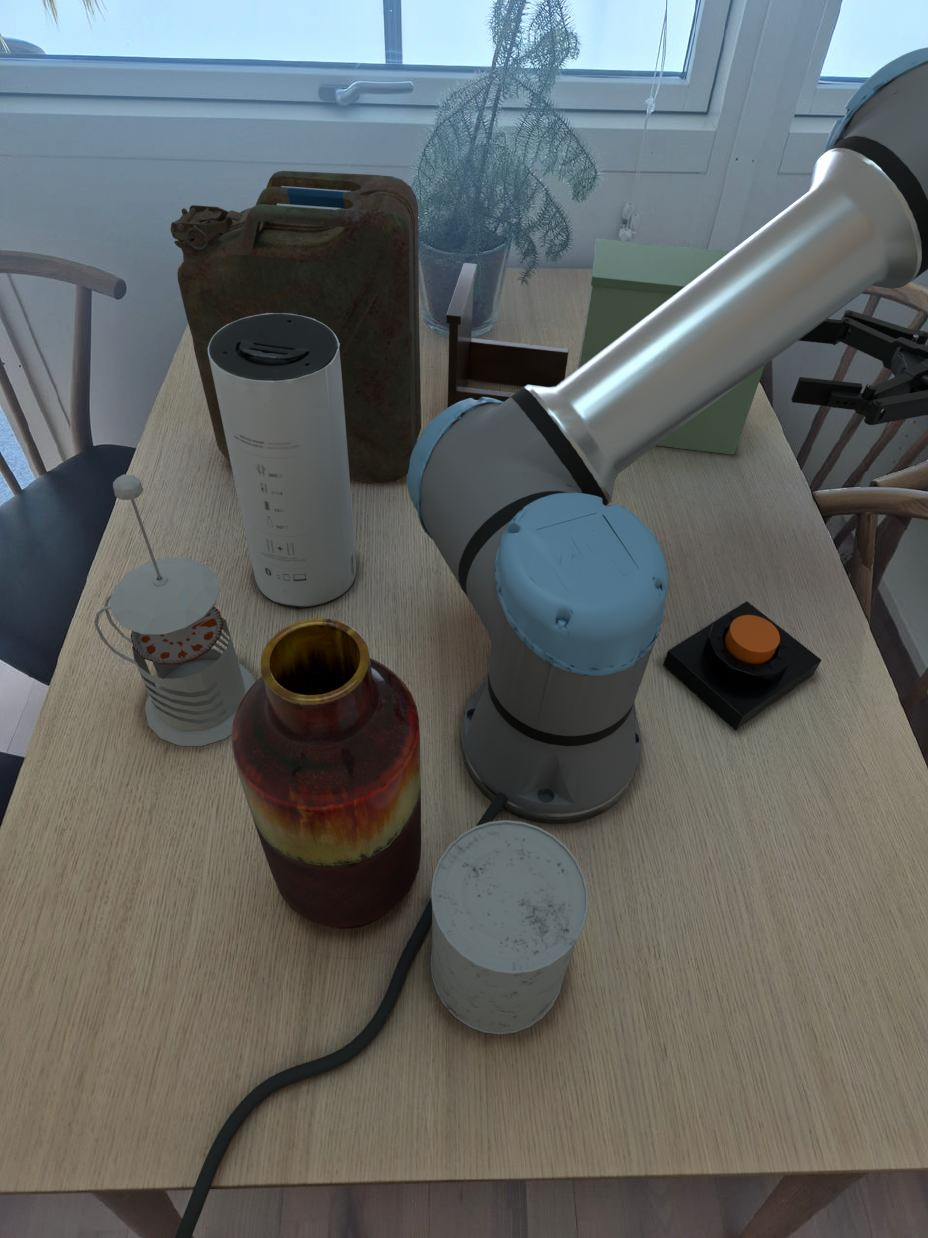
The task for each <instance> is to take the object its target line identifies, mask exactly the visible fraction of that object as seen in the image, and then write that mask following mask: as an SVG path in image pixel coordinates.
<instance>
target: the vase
mask: <svg viewBox="0 0 928 1238" xmlns="http://www.w3.org/2000/svg"><path fill="white" fill-rule="evenodd" d="M259 665H260V677H259V678H258V679H257V680H255V683H254V684H253V685H252V686H251V687H250V689H249V690H248V691H247V692H246V694H245V695H244V697H243V699H242V701H241V702H240V704H239V706H238V708H237V711H236V714H235V716H234V719H233V724H232V730H231V735H230V737H231V738H230V740H231V742H230V743H231V744H230V745H231V750H232V756H233V761H234V763H235V767H236V771H237V775H238V778H239V781H240V784H241V787H242V790H243V793H244V796H245V799H246V803H247V805H248V809H249V812H250V814H251V818H252V820H253V823H254V827H255V829H256V833H257V835H258V839H259V841H260V844H261V847H262V850H263V853H264V856H265V858H266V859H265V860H266V862H267V865H268V867H269V871H270V874H271V875H272V878H273V880H274V883H275V884H276V887H277V890H278V892H279V894H280V896H281V897H282V900H284V902H285V904H287V905H288V907H290V909H292V911H293V912H295V913H296V914H298V915H299V916H300V917H301V918H303V919H305V920H307V921H309V922H311V923H313V924H316V925H320V926H323V927H328V928H332V929H337V930H338V929H339V930H352V929H358V928H362V927H367V926H368V925H371V924H373V923H375V922H377V921H379V920H381V918H383V917H385V916H386V915H387V914H388V913H390V912H391V911H392V910H394V909H395V908H396V907H397V906H398V905H399V904H400V903H401V902H402V901H403V900H404V899H405V897H406V896H407V895H408V893H409V892H410V890H411V888H412V887H413V885H414V883H415V881H416V878H417V875H418V873H419V870H420V863H421V855H422V775H421V774H422V772H421V771H422V770H421V768H422V766H421V728H420V718H419V712H418V707H417V705H416V701H415V699H414V695H413V694H412V692H411V690H410V689H409V687H408V686H407V685H406V683H405V682H404V681H403V680H402V679H401V677H399V676H398V674H397V673H396V672H394V671H393V670H392V669H391V668H389V667H388V666H386V665H385V664H383V663H382V662H380V661H378V660H376V659H375V658H371V655H370V650H369V647H368V644H367V642H366V640H365V639H364V637H363V636H362V635H361V634H360V633H359V631H358V630H356V629H355V628H354V627H353V626H350V625H349V624H346V623H344V622H341V621H339V620H336V619H330V618H309V619H305V620H300V621H297V622H295V623H291V624H289V625H287V626H286V627H284V628H282V629H281V630H279V631H278V632H277V633H275V635H273V636H272V637H271V638H270V639H269V641H268V642H267V643H266V644H265V646H264V649H263V650H262V653H261V657H260V663H259Z"/></svg>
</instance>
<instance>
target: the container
mask: <svg viewBox="0 0 928 1238" xmlns="http://www.w3.org/2000/svg"><path fill="white" fill-rule="evenodd" d="M317 207H318V208H317ZM188 208H189V210H188V209H186V208H185V207H183V208H182V209H181V216H180V217H179V219H177V220H175V221H172V222H171V223H170V234H171V236H172V238H173V239H174V244H175V246H176V247H178V248H179V249H181V252H182V259H183V261H182V262H181V264H180V265H179V267H178V268H177V273H176V274H177V283H178V287H179V291H180V295H181V299H182V304H183V308H184V312H185V316H186V321H187V324H188V328H189V331H190V334H191V338H192V339H191V340H192V345H193V350H194V355H195V360H196V363H197V367H198V372H199V375H200V376H199V377H200V379H201V384H202V387H203V392H204V395H205V400H206V404H207V408H208V413H209V418H210V421H211V425H212V429H213V433H214V437H215V441H216V446H217V448H218V450H219V451H220V453H221V454H222V456H223V458H224V459H225V460H226V461H227V462H228V464H230V465H231V462H230V457H229V452H228V447H227V442H226V437H225V432H224V428H223V423H222V418H221V413H220V408H219V403H218V398H217V394H216V389H215V384H214V379H213V374H212V370H211V365H210V360H209V355H208V346H209V343H210V340H211V339H212V337H213V336H214V335H215V334H216V333H217V332H218V331H219V330H220V329H221V328H222V327H224V326H226V325H227V324H230V323H232V322H234V321H236V320H239V319H242V318H246V317H249V316H254V315H260V314H266V313H285V314H295V315H300V316H305V317H309V318H313V319H315V320H317V321H319V322H321V323H323V324H324V325H326V326H327V327H329V328H330V329H331V330H332V331H333V333H334V334H335V335H336V337H337V338H338V341H339V343H340V345H339V351H340V363H341V374H342V387H343V399H344V412H345V425H346V438H347V451H348V464H349V477H350V480H354V481H360V482H365V483H375V484H388V483H389V484H390V483H396V482H398V481H401V480H402V479H404V478H405V477H407V474H408V470H409V465H410V458H411V454H412V451H413V449H414V447H415V444H416V443H417V441H418V439H419V437H420V433H421V430H422V397H421V396H422V395H421V394H422V393H421V347H420V346H421V343H420V342H421V341H420V272H419V271H420V263H419V261H420V260H419V259H420V251H419V250H420V249H419V248H420V247H419V246H420V244H419V243H420V242H419V241H420V240H419V239H420V238H419V237H420V235H419V234H420V233H419V204H418V199H417V195H416V193H415V192H414V190H413V189H412V187H411V185H410V184H408V183H407V182H406V181H404V180H403V179H401V178H398V177H395V176H391V175H381V174H367V173H366V174H365V173H362V174H361V173H344V172H343V173H340V172H321V171H319V172H318V171H295V170H278V171H275V172H274V173H273V174H272V175H271V177H270V178H269V179H268V182H267V184H266V187H265V188H264V189H263V190H262V191H261V192H260V194H259V196H258V197H257V200H256V203H255V205H254V206H251V207H248V208H246V209H243V210H241V211H235V210H229V211H228V210H226V209H224V208H221V207H219V206H212V205H211V206H210V205H197V204H196V205H195V204H193V205H190V207H188ZM330 208H331V209H330Z"/></svg>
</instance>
